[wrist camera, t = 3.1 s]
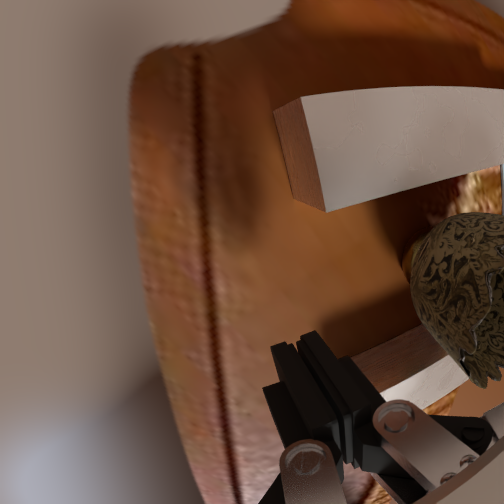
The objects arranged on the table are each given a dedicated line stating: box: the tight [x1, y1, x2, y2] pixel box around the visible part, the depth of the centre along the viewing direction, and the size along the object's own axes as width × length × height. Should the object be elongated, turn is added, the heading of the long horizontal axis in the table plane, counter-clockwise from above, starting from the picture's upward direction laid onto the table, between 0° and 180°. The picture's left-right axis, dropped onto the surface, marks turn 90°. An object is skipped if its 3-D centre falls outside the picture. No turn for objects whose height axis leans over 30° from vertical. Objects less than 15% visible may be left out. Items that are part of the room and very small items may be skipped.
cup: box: [402, 212, 504, 389], centre depth 12 cm, size 8×7×8 cm
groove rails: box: [273, 86, 504, 410], centre depth 15 cm, size 16×18×4 cm
